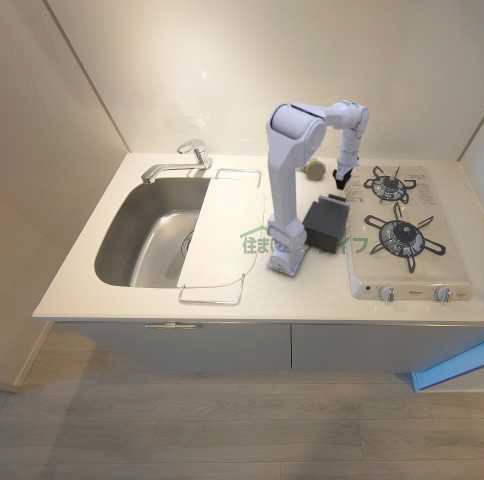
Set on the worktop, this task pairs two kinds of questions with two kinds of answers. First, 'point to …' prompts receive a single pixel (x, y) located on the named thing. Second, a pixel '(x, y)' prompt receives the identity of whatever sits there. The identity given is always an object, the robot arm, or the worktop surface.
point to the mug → (314, 169)
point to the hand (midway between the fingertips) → (343, 182)
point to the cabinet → (324, 226)
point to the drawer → (334, 202)
